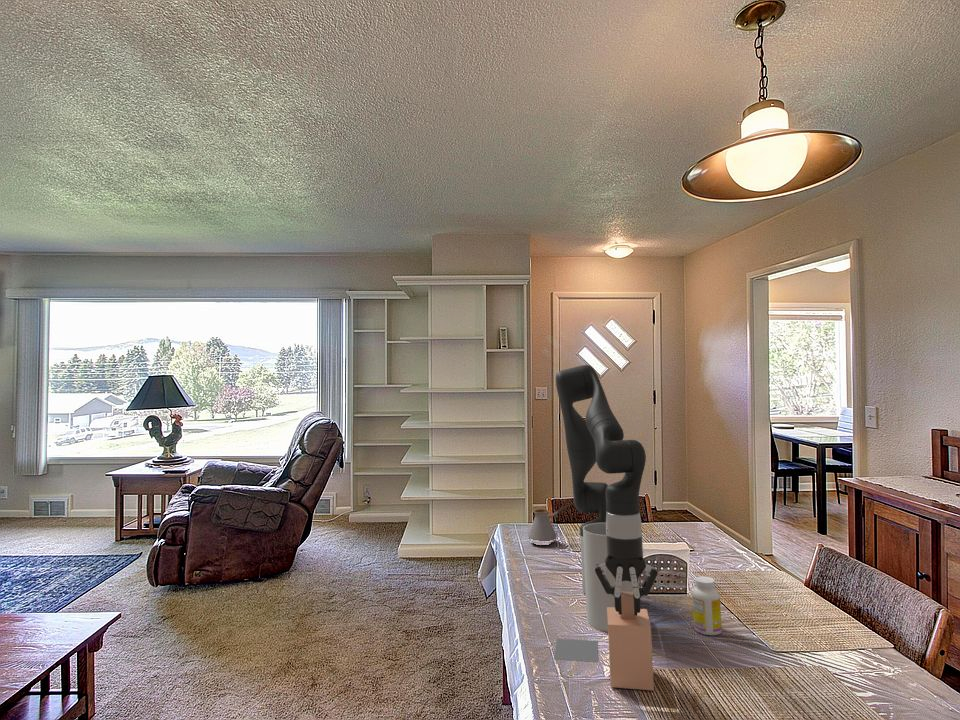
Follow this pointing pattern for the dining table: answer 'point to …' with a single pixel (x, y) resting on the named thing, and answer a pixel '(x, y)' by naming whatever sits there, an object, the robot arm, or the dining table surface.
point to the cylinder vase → (594, 590)
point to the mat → (576, 650)
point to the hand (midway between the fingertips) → (627, 613)
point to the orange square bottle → (630, 646)
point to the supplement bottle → (706, 607)
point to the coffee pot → (544, 525)
